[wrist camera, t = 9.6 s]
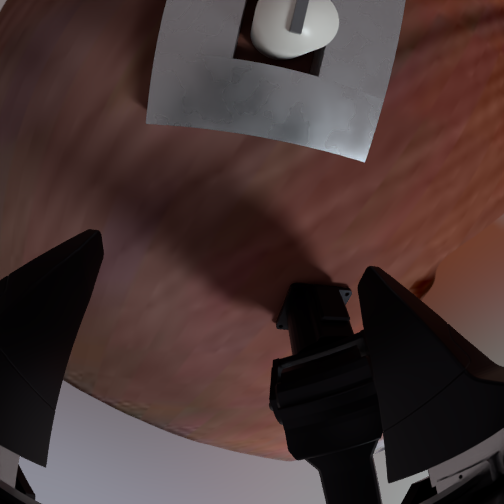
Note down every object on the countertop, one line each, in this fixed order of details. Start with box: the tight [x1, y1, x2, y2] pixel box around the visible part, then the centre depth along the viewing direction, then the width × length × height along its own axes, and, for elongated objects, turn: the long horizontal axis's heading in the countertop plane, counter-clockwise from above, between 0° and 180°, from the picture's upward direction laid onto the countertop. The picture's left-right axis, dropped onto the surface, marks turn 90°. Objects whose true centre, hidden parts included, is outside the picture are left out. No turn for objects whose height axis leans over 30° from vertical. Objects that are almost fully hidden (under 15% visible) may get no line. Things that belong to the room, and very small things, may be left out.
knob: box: [250, 0, 339, 60], centre depth 11 cm, size 4×4×6 cm
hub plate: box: [146, 0, 405, 162], centre depth 12 cm, size 14×14×3 cm
